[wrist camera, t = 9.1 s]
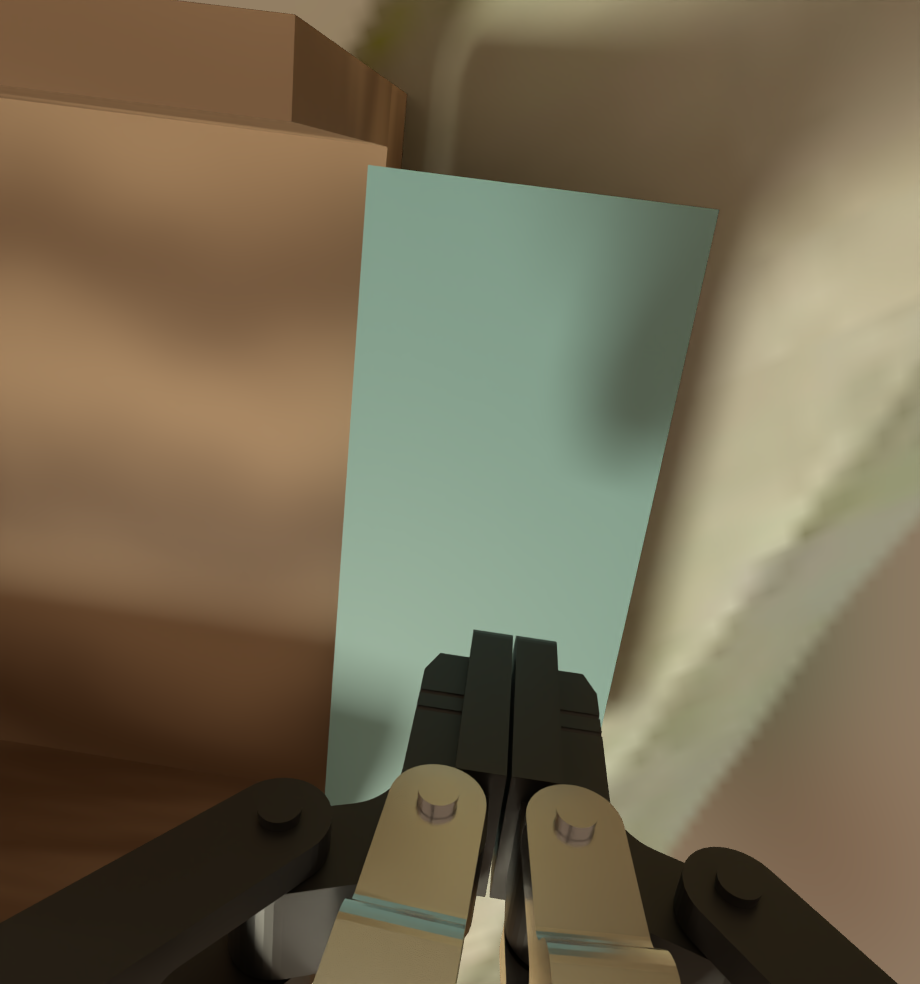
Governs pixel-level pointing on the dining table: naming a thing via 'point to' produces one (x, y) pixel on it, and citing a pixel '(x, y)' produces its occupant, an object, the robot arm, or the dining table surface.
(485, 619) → the panel
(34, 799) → the box
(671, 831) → the dining table surface
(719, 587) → the dining table surface
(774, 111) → the dining table surface
